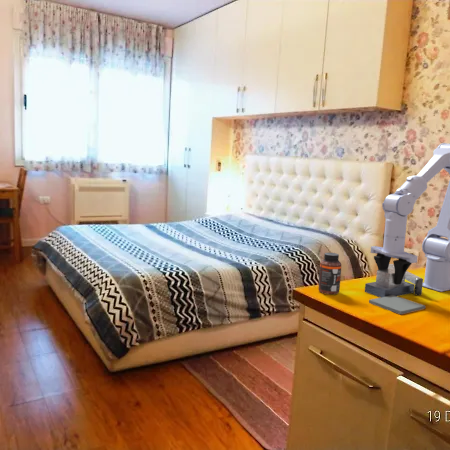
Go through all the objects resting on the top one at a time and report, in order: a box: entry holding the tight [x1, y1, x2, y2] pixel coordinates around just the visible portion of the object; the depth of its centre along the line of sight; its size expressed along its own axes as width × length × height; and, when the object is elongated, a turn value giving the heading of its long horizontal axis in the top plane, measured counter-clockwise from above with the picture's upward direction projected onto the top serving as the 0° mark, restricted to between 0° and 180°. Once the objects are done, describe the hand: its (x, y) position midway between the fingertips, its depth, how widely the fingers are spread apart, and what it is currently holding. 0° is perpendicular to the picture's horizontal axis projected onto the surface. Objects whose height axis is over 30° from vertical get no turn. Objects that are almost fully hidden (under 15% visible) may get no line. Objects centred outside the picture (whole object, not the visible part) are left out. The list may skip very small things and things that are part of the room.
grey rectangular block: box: [375, 268, 406, 288], centre depth 129 cm, size 7×4×4 cm, turn 122°
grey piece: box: [364, 281, 415, 298], centre depth 130 cm, size 13×7×2 cm, turn 122°
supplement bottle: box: [318, 252, 342, 295], centre depth 127 cm, size 6×6×11 cm
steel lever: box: [388, 263, 424, 296], centre depth 136 cm, size 2×18×5 cm, turn 7°
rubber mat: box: [368, 295, 426, 315], centre depth 118 cm, size 10×10×1 cm
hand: (390, 281), depth 129 cm, fingers closed on grey rectangular block, 4 cm apart
